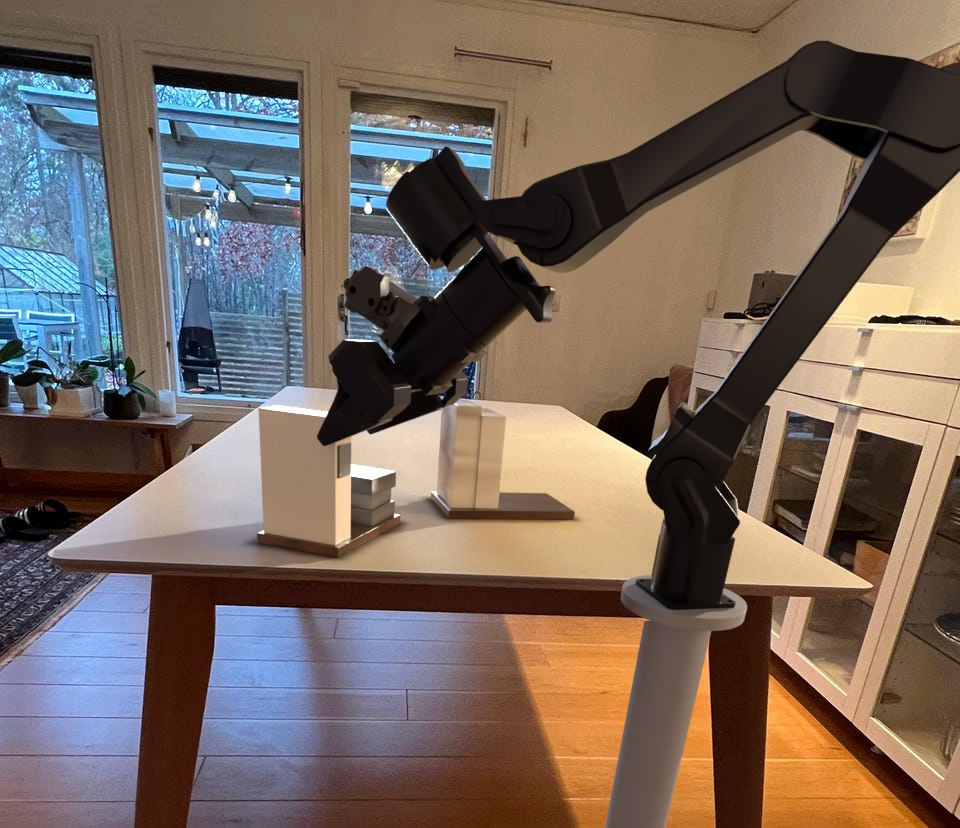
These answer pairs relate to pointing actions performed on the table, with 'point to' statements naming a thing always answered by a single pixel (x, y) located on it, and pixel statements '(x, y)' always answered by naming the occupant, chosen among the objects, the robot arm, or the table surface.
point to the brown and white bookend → (482, 470)
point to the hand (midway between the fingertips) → (345, 435)
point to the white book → (303, 477)
